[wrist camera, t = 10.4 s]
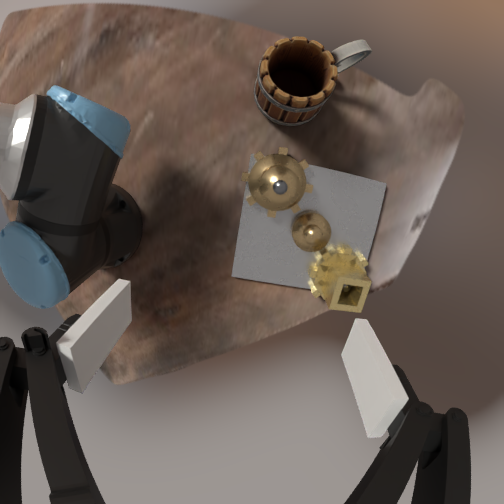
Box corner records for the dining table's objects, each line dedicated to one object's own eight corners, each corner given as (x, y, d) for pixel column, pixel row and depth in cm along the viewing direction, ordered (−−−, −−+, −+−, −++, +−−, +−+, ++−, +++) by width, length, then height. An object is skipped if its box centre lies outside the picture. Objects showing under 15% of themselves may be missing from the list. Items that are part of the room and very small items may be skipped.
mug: (275, 138, 42) (281, 129, 28) (241, 82, 39) (232, 50, 25) (360, 99, 39) (400, 78, 25) (327, 45, 36) (352, 5, 22)
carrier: (228, 272, 49) (220, 299, 40) (248, 142, 42) (245, 138, 33) (354, 292, 50) (370, 320, 41) (385, 172, 43) (412, 178, 34)
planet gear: (301, 296, 49) (307, 321, 41) (315, 239, 46) (325, 255, 38) (356, 304, 49) (370, 328, 42) (373, 250, 46) (392, 267, 38)
